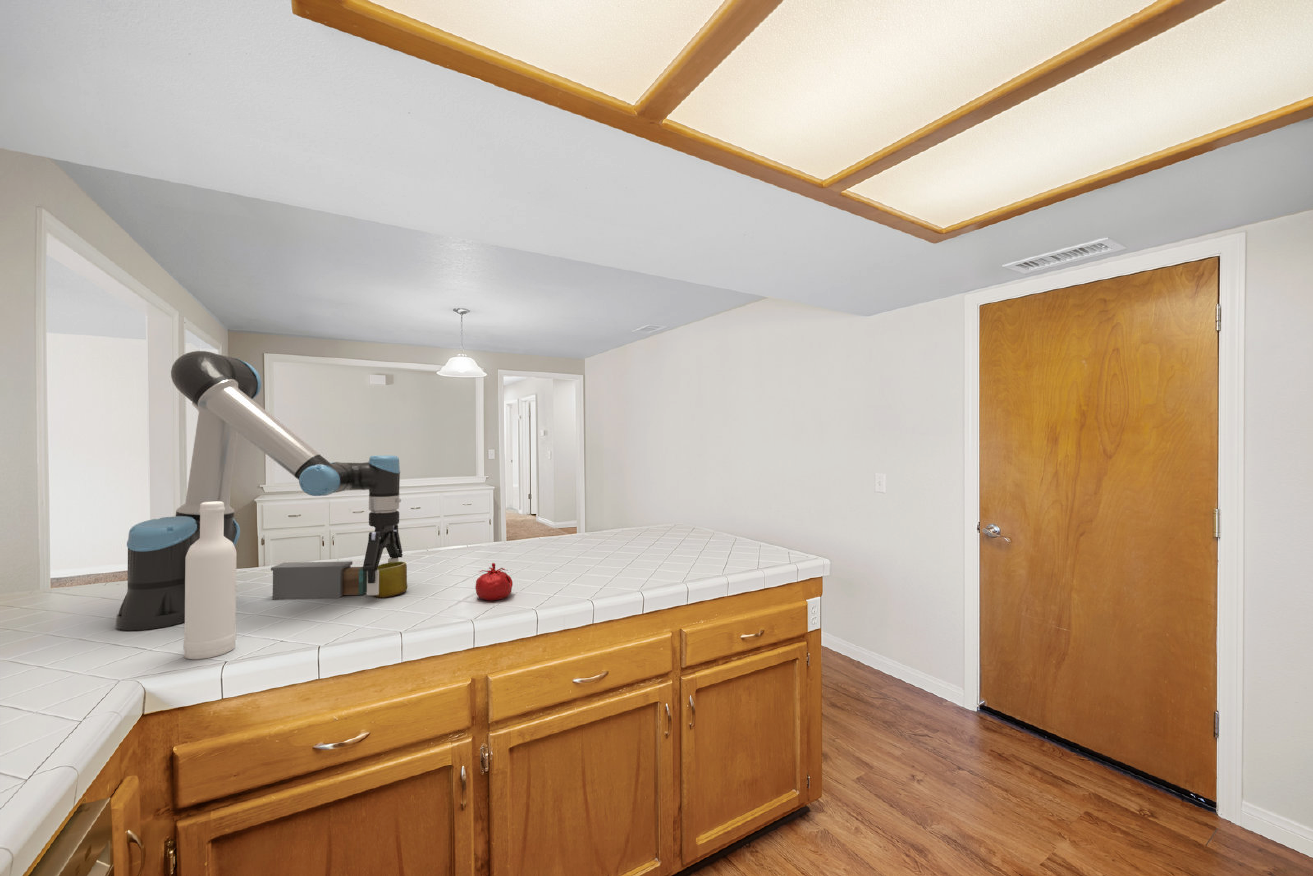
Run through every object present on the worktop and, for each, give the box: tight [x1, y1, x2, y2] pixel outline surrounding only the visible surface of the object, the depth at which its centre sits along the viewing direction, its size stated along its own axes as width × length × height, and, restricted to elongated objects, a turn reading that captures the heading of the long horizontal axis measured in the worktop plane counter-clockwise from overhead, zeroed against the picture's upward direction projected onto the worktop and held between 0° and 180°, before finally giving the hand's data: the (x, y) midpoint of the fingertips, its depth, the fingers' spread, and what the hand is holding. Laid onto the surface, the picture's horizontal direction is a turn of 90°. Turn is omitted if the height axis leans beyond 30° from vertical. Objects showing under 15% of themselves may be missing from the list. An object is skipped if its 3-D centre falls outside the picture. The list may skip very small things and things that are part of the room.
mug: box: [372, 561, 408, 599], centre depth 145 cm, size 12×10×10 cm
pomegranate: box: [474, 562, 514, 601], centre depth 141 cm, size 10×10×9 cm
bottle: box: [183, 501, 238, 660], centre depth 104 cm, size 8×8×30 cm
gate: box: [342, 566, 367, 596], centre depth 142 cm, size 3×16×7 cm, turn 96°
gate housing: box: [270, 561, 353, 601], centre depth 142 cm, size 6×18×8 cm, turn 96°
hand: (383, 587), depth 144 cm, fingers open, 13 cm apart
